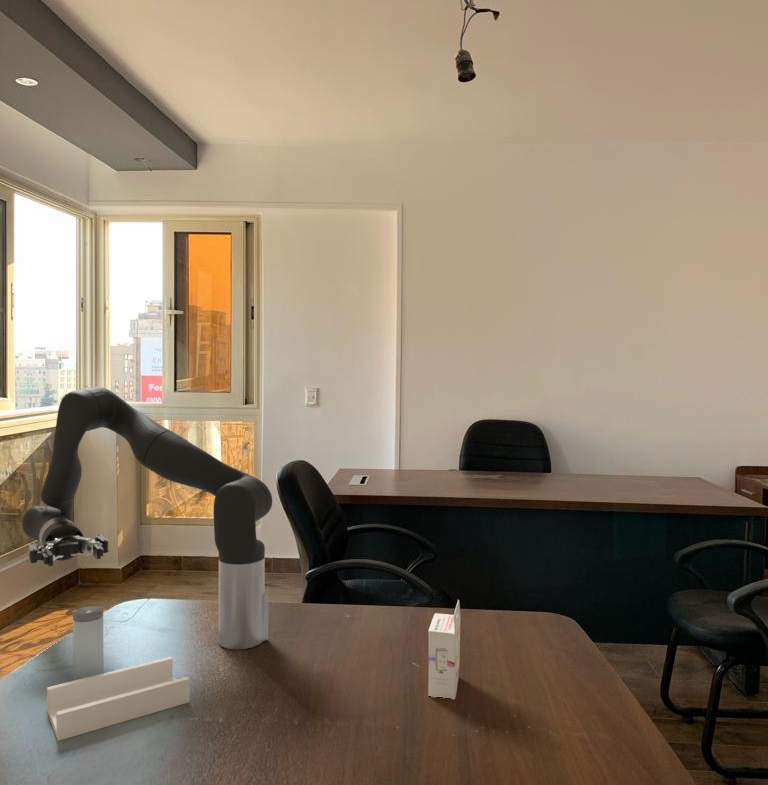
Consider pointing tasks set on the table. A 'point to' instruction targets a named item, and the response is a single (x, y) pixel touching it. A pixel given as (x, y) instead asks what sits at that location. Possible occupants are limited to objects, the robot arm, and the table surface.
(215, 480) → the robot arm
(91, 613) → the grey capped cylinder
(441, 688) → the ink cartridge box
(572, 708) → the table surface
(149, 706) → the tray
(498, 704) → the table surface
